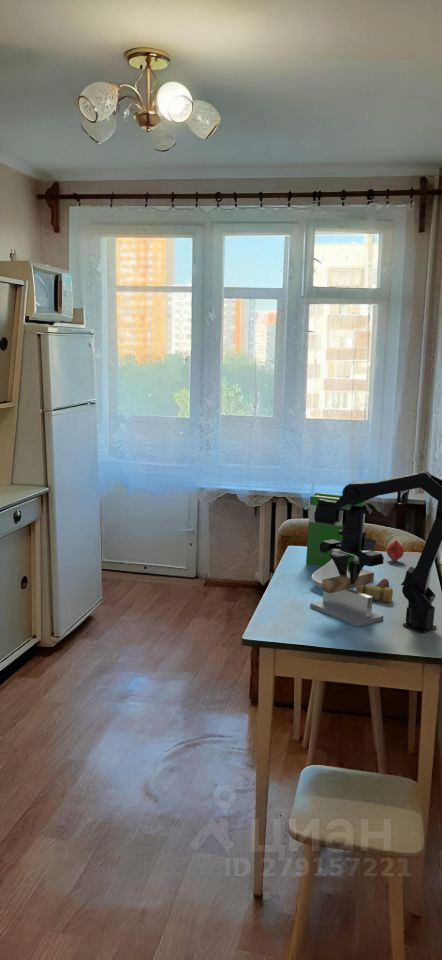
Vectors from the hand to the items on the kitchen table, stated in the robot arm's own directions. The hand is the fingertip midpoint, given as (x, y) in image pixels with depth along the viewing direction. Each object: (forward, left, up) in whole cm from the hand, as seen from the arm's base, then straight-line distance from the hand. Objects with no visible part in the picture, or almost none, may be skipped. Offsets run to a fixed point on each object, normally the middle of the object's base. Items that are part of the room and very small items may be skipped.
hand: (348, 582), depth 197 cm
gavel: (+8, -24, -10) cm, 27 cm away
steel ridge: (0, 0, -8) cm, 8 cm away
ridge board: (0, 0, -9) cm, 9 cm away
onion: (+27, -56, -9) cm, 63 cm away
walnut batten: (0, 0, -1) cm, 1 cm away
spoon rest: (+21, -18, -10) cm, 29 cm away
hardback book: (+35, -33, -9) cm, 49 cm away
